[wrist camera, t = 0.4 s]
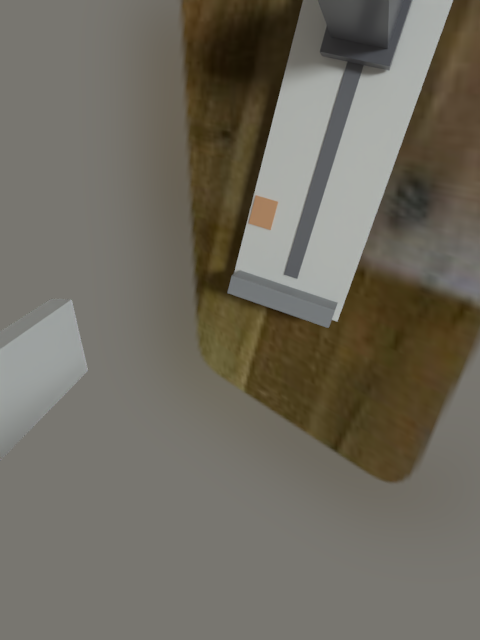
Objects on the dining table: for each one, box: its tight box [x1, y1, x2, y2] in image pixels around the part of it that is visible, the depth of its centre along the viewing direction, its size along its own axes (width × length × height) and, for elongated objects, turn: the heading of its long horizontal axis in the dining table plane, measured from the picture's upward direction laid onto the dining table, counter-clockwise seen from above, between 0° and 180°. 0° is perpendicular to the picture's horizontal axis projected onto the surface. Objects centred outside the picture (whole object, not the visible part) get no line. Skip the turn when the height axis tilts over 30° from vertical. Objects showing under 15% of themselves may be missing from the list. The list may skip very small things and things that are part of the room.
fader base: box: [227, 0, 453, 328], centre depth 33 cm, size 30×10×4 cm, turn 165°
